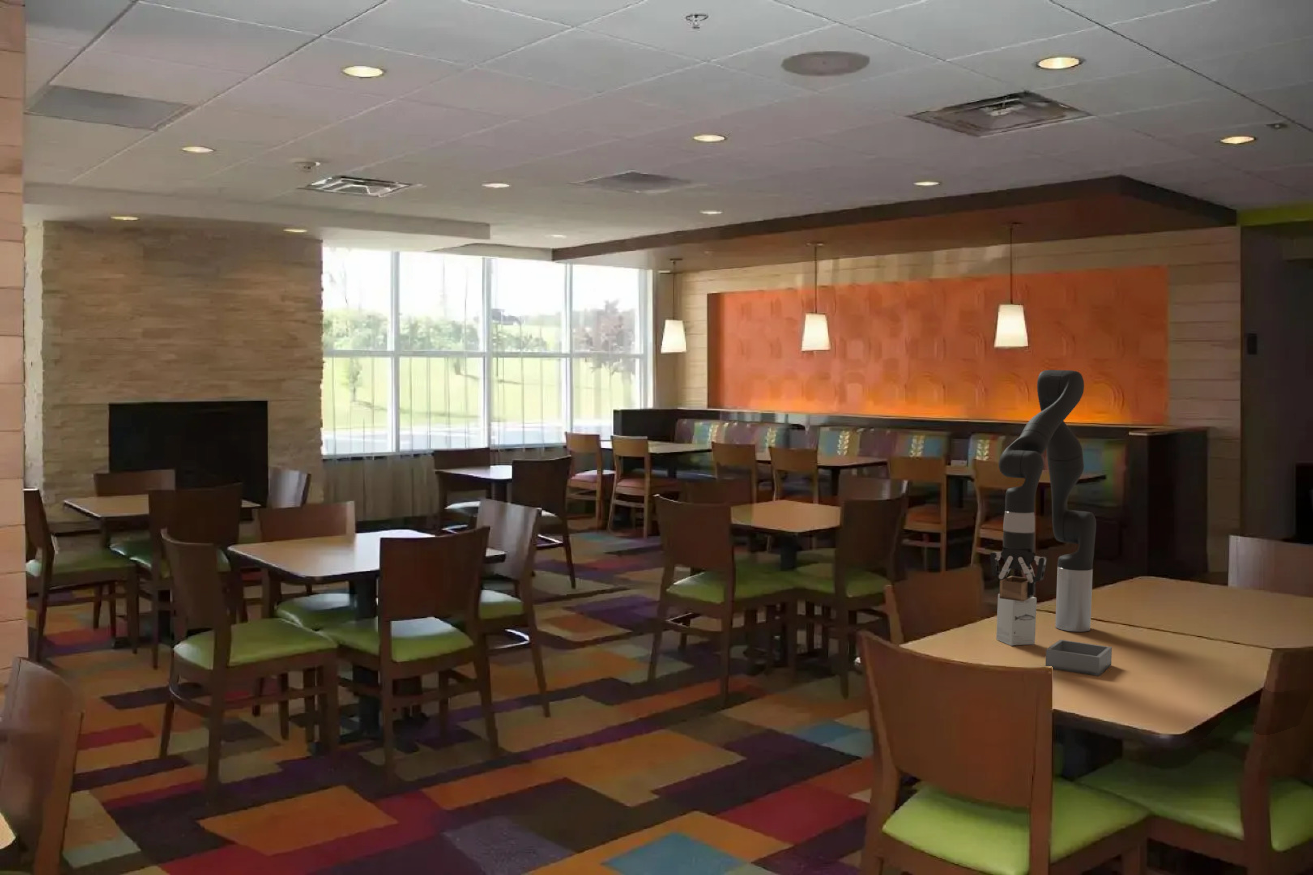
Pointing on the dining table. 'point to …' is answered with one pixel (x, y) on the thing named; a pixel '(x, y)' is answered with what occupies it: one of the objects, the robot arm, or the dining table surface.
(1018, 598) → the small crate
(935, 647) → the dining table surface
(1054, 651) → the box
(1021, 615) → the supplement box
